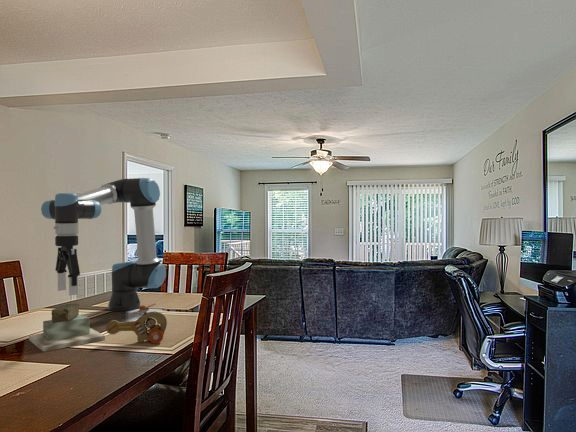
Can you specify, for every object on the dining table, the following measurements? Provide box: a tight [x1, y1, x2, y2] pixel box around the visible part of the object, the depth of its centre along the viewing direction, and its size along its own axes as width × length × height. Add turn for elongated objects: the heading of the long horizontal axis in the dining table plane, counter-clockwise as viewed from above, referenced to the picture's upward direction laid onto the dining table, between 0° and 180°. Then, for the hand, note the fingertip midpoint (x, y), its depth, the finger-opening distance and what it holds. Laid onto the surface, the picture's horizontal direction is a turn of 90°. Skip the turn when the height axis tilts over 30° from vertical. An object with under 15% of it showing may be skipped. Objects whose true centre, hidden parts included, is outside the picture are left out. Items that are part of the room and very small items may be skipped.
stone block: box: [51, 303, 80, 322], centre depth 152 cm, size 6×12×5 cm, turn 7°
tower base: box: [28, 314, 106, 353], centre depth 152 cm, size 20×20×8 cm
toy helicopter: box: [105, 302, 168, 344], centre depth 149 cm, size 8×21×14 cm, turn 102°
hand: (67, 292), depth 153 cm, fingers open, 13 cm apart
